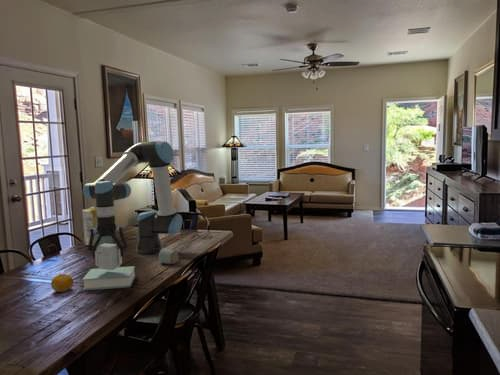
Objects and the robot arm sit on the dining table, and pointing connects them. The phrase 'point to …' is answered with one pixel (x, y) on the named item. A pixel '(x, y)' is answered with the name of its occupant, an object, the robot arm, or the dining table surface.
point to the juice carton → (89, 223)
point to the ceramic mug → (168, 256)
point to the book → (109, 278)
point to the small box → (108, 256)
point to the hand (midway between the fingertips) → (109, 264)
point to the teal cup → (103, 239)
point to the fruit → (62, 282)
